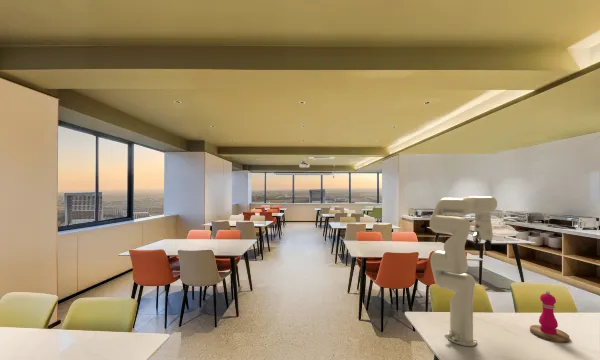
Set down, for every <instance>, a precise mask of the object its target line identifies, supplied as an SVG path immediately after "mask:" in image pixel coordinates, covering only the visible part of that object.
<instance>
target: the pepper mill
mask: <svg viewBox="0 0 600 360" xmlns="http://www.w3.org/2000/svg"><path fill="white" fill-rule="evenodd" d="M539 299H540V301H541V307H542V311H541V314H540V316H539V319H538V323H539V325H542V326H540V330H541V331H542V332H544V333H547V334H551V335H556V334H557V330H556V329H558V327H559V323H558V320H557V319H556V316H555V314H554V313H555V312H554V310H555V304H556V301H557V299H556V298H555V296H554V295H552V294H551V292H550V291H549V290H546V291H545V293H542V294H540V296H539ZM555 328H556V329H555Z"/></svg>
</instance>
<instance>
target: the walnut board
mask: <svg viewBox="0 0 600 360" xmlns="http://www.w3.org/2000/svg"><path fill="white" fill-rule="evenodd" d="M540 326H542V325H541V324H534V325H533V324H532V325H529V332H530V333H531V334H533V336H535V337H538V338H539V339H543V340H546V341H549V342H553V343H554V342H555V343H559V344H560V343H563V344H564V343H569V342H570V335H569V334H568V333H566V332H564V331H563V330H560V329H558V328H555V329H556V330H557V334H556V335H551V334H547V333H544V332H542V331H541V330H540Z"/></svg>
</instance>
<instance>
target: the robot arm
mask: <svg viewBox="0 0 600 360" xmlns="http://www.w3.org/2000/svg"><path fill="white" fill-rule="evenodd" d="M497 208H498V201H497V199H496V197H494V196H489V195H488V196H486V195H485V196H484V195H483V196H482V195H479V196H478V195H470V196H463V197H443V198H440V199H439V200H438V201H437V203H436V206H435V208H434V209H433V212H432V214H431V216H430V219H429V227H430V230H431V231H432V232H434V233H438V234H445V235H446V234H447V235H451V236H450V237H449V238H447V240H446V241H445V242H444V243H443V250H434V251H433V252H432V253H431V255H430V260H429V261H430V267H431V271H432V275H433V280H434V283H435V285H436V286H437V287H438V288H440V289H443V290H447V291H451V292H454V293H455V294H453V296H451V298H450V300H449V310H450V311H449V316H450V317H449V321H450V323H449V325H450V326H449V331H448V332H446V334H445V335H444V338H445V339H447V340H449V341H450V342H451V343H454V344H456V345H459V346H464V347H474V346H476V345H477V344H478V340H477V338H476V337H475V336H474V293H475V292H474V291H475V287H476V280H475V277H473V275H472V274H470V273H467V272H468V269H469V265H468V260H467V254H466V250H465V246H466V242H467V240H468V237H469V234H470V233H471V232H470V231H471V222H470V220H469V219H468V218H467V217H463V216H467V215H471V214H474V227H473V228H474V230H473V231H474V233H473V235H472V238H473V243H474V251H478V252H481V251H482V243H481V242H482V241H484V249H485V250H492V242H493V241H492V240H493V236H494V235H493V227H492V221H491V219H492V215H491V213H492V212H494V211H495V210H496V209H497Z"/></svg>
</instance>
